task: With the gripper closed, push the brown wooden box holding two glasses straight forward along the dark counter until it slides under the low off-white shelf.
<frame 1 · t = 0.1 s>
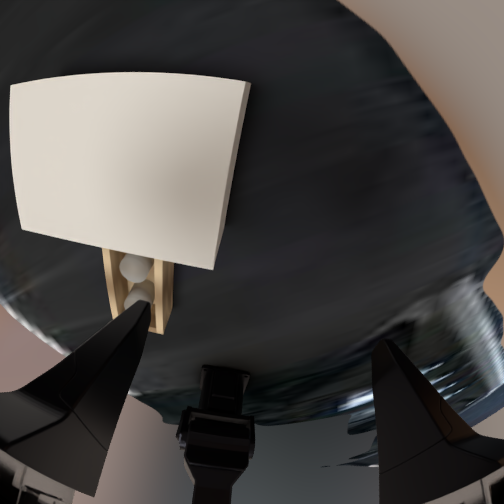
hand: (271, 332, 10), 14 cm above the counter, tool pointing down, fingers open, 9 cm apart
brown wooden box: (147, 266, 27), on the counter
shelf: (132, 145, 20), on the counter
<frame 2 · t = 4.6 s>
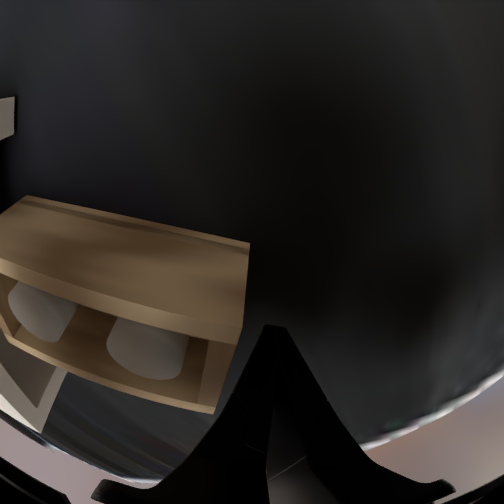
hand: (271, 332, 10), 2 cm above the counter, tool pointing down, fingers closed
brown wooden box: (120, 271, 11), on the counter
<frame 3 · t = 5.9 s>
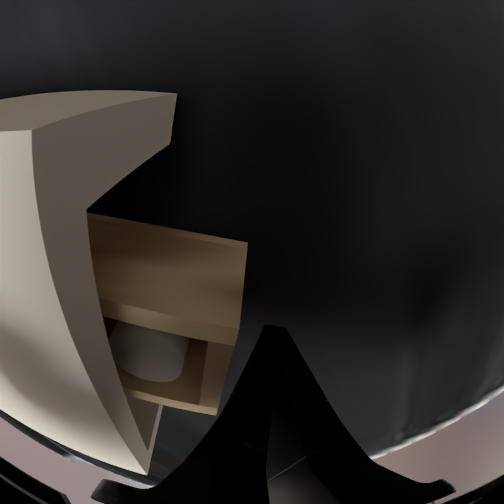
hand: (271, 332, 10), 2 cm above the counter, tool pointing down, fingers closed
brown wooden box: (120, 275, 11), on the counter, touching gripper
shelf: (51, 275, 11), on the counter
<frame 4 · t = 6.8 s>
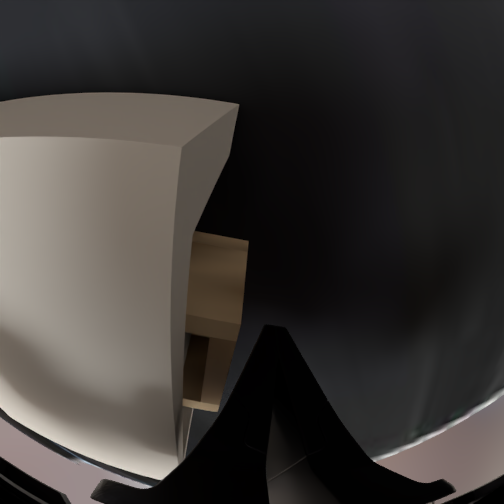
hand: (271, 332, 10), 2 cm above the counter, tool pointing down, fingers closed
brown wooden box: (121, 272, 11), on the counter
shelf: (81, 287, 12), on the counter
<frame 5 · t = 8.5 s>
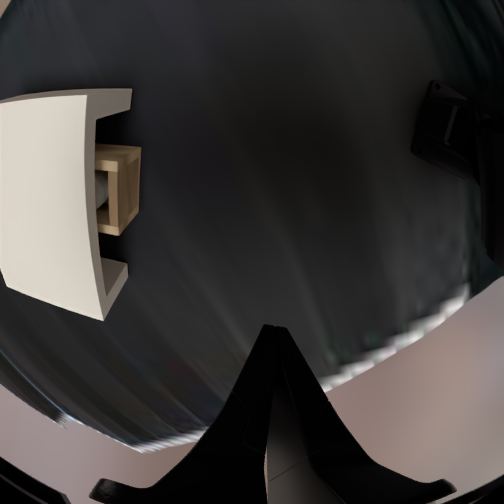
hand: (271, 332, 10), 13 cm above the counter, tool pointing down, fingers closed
brown wooden box: (88, 174, 20), on the counter
shelf: (67, 186, 21), on the counter
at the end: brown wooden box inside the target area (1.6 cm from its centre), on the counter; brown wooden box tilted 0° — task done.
